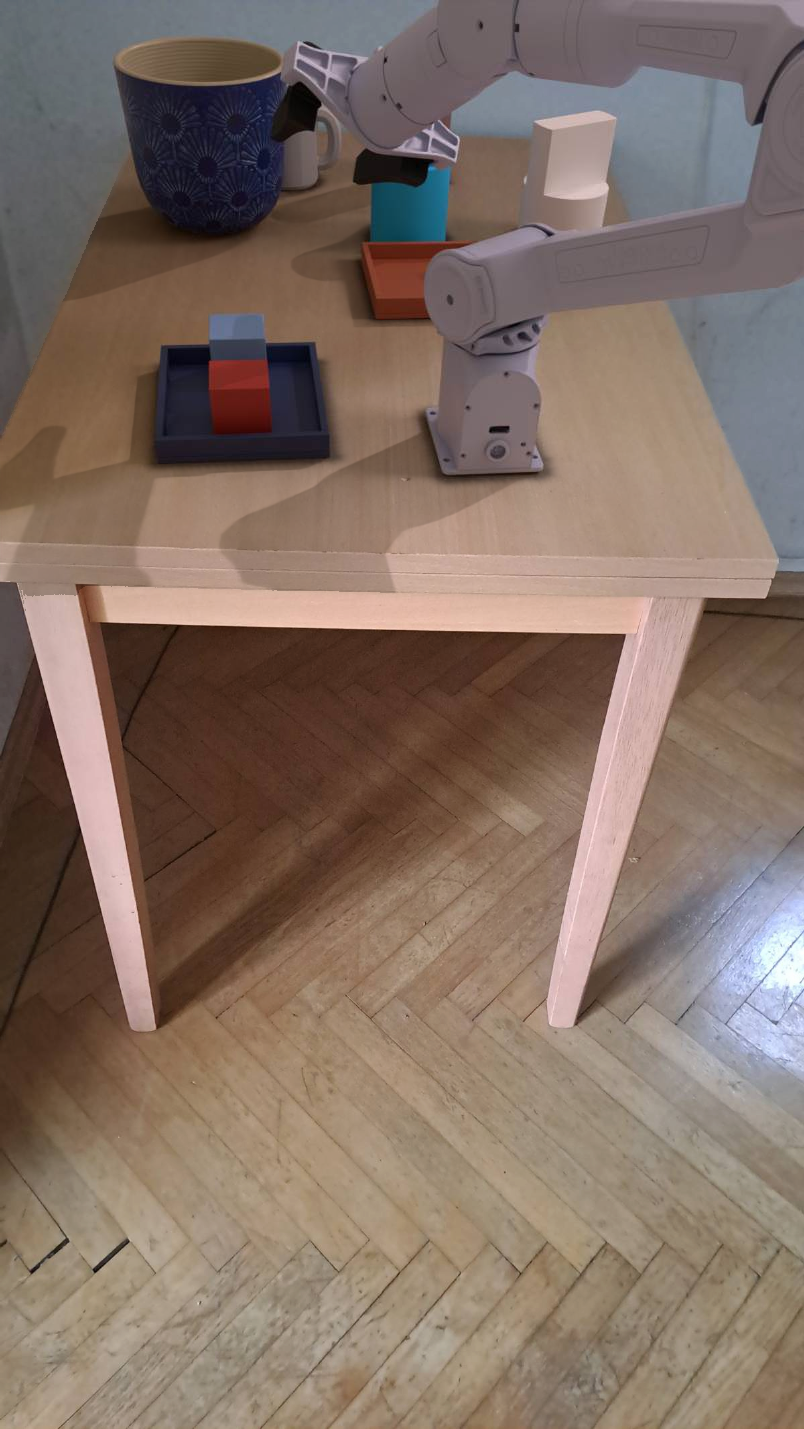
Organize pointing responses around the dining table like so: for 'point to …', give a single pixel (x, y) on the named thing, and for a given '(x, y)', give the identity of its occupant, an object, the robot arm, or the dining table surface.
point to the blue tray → (193, 440)
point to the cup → (311, 153)
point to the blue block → (237, 337)
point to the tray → (400, 275)
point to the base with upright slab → (568, 171)
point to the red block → (240, 396)
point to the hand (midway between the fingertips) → (318, 150)
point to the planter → (204, 129)
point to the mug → (410, 209)
